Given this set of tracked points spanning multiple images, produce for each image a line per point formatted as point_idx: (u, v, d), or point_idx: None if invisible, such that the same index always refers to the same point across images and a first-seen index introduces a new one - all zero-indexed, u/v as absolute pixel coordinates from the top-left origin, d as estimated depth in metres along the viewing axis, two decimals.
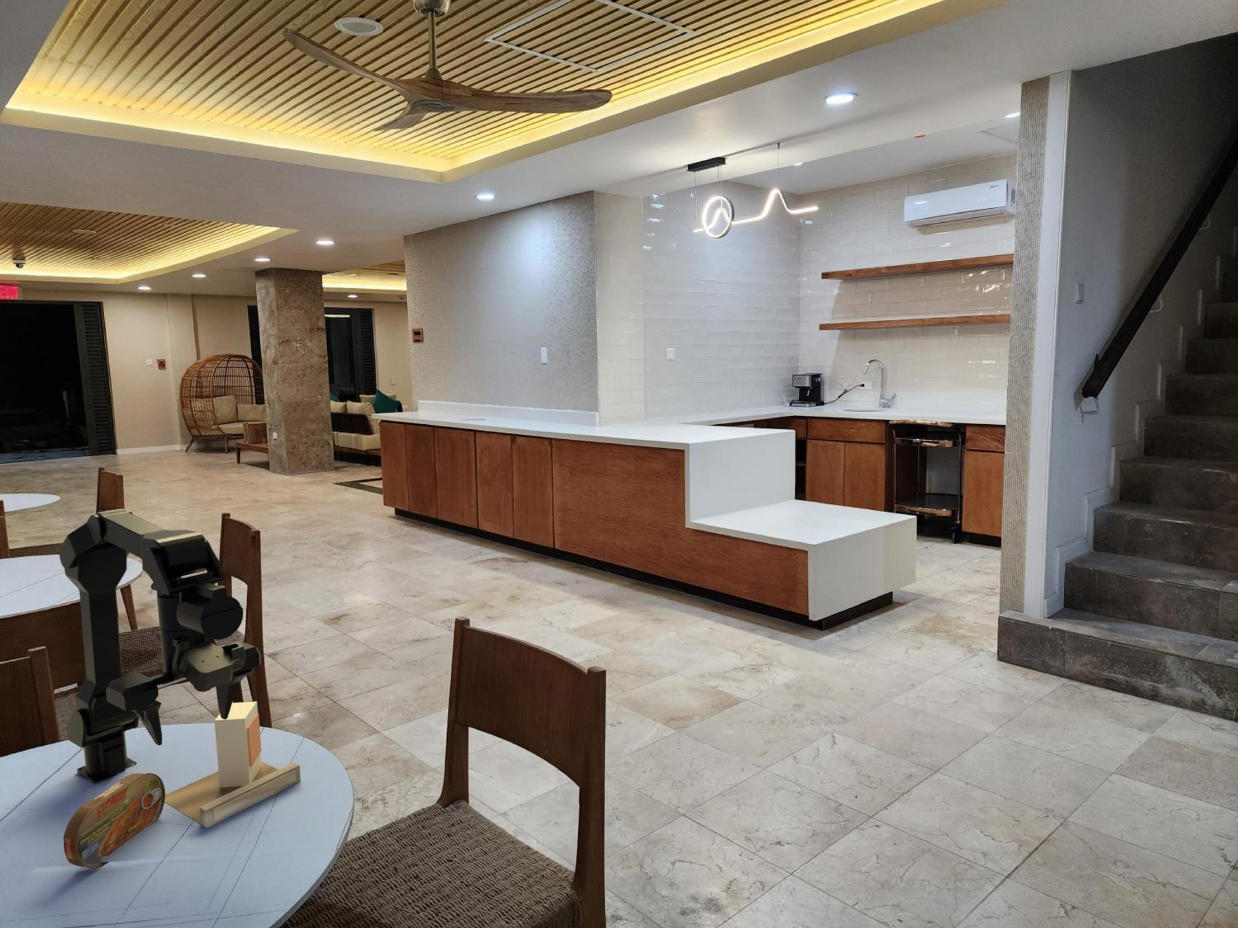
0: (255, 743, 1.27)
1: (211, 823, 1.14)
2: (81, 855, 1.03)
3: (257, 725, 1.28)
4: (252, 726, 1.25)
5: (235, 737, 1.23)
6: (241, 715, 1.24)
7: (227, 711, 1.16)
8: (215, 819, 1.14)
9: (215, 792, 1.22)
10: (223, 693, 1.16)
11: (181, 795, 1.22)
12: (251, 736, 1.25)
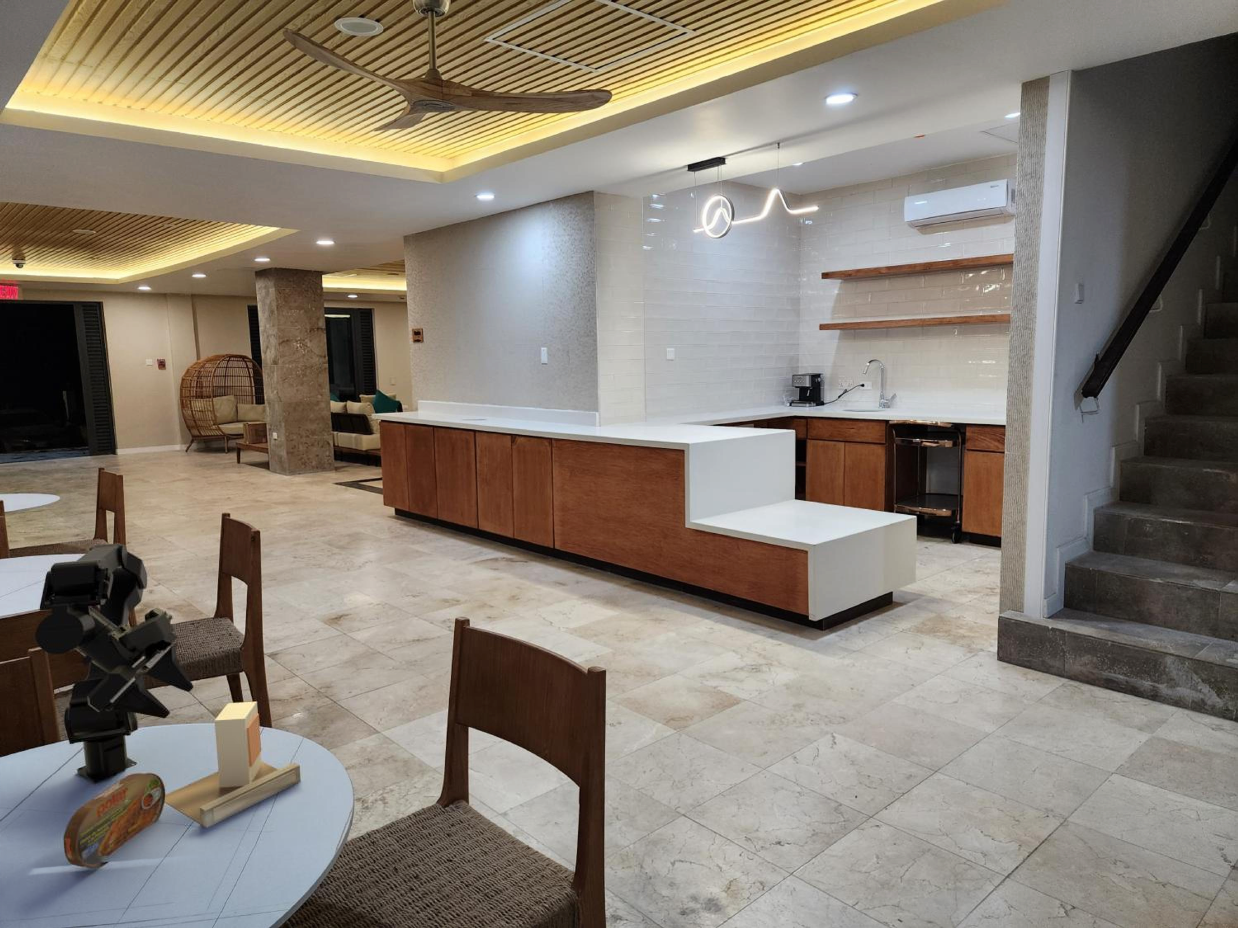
0: (255, 743, 1.27)
1: (211, 823, 1.14)
2: (81, 855, 1.03)
3: (257, 725, 1.28)
4: (252, 726, 1.25)
5: (235, 737, 1.23)
6: (241, 715, 1.24)
7: (189, 680, 1.28)
8: (215, 819, 1.14)
9: (215, 792, 1.22)
10: (173, 673, 1.28)
11: (181, 795, 1.22)
12: (251, 736, 1.25)
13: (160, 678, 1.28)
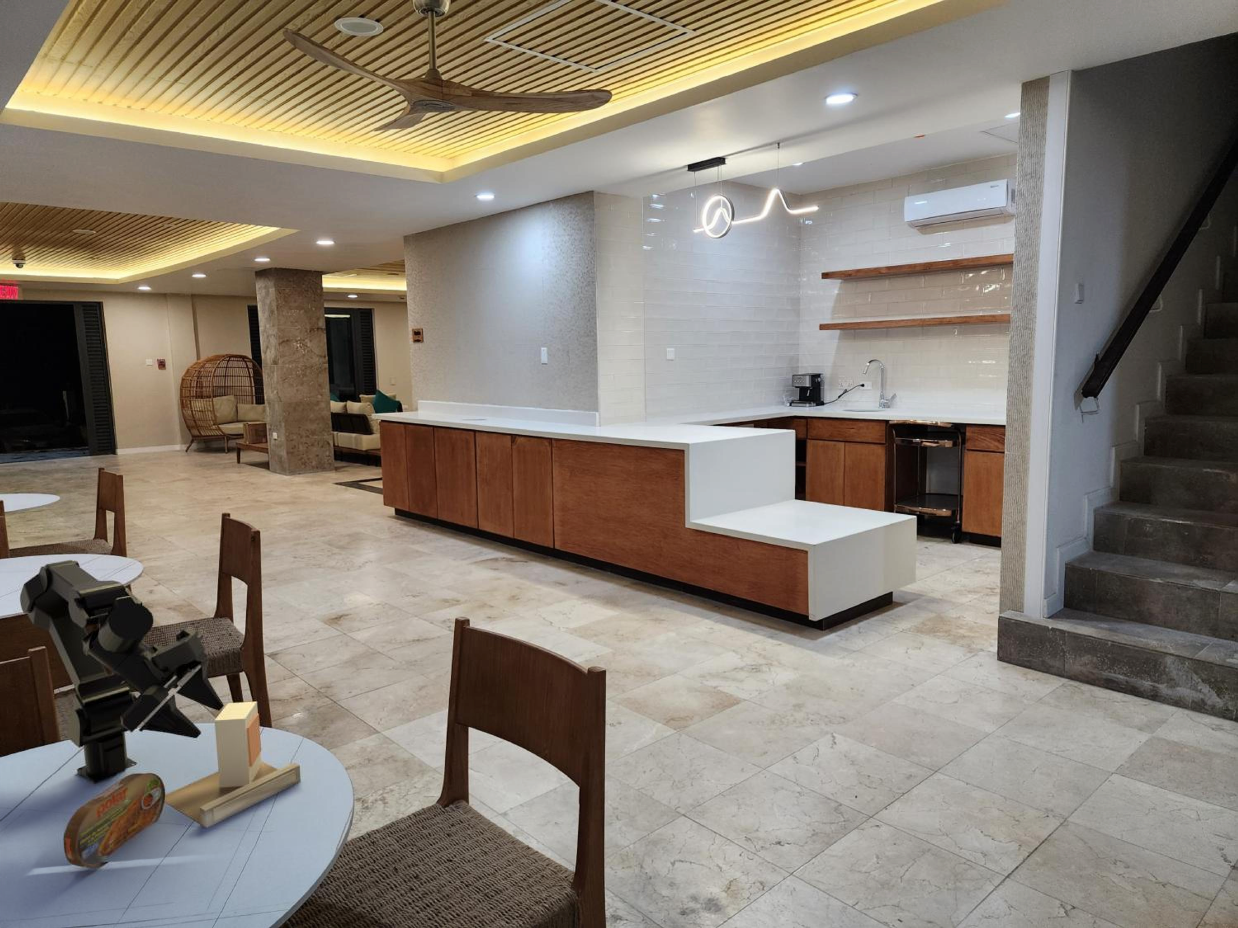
0: (255, 743, 1.27)
1: (211, 823, 1.14)
2: (81, 855, 1.03)
3: (257, 725, 1.28)
4: (252, 726, 1.25)
5: (235, 737, 1.23)
6: (241, 715, 1.24)
7: (219, 699, 1.29)
8: (215, 819, 1.14)
9: (215, 792, 1.22)
10: (203, 692, 1.29)
11: (181, 795, 1.22)
12: (251, 736, 1.25)
13: (191, 697, 1.29)
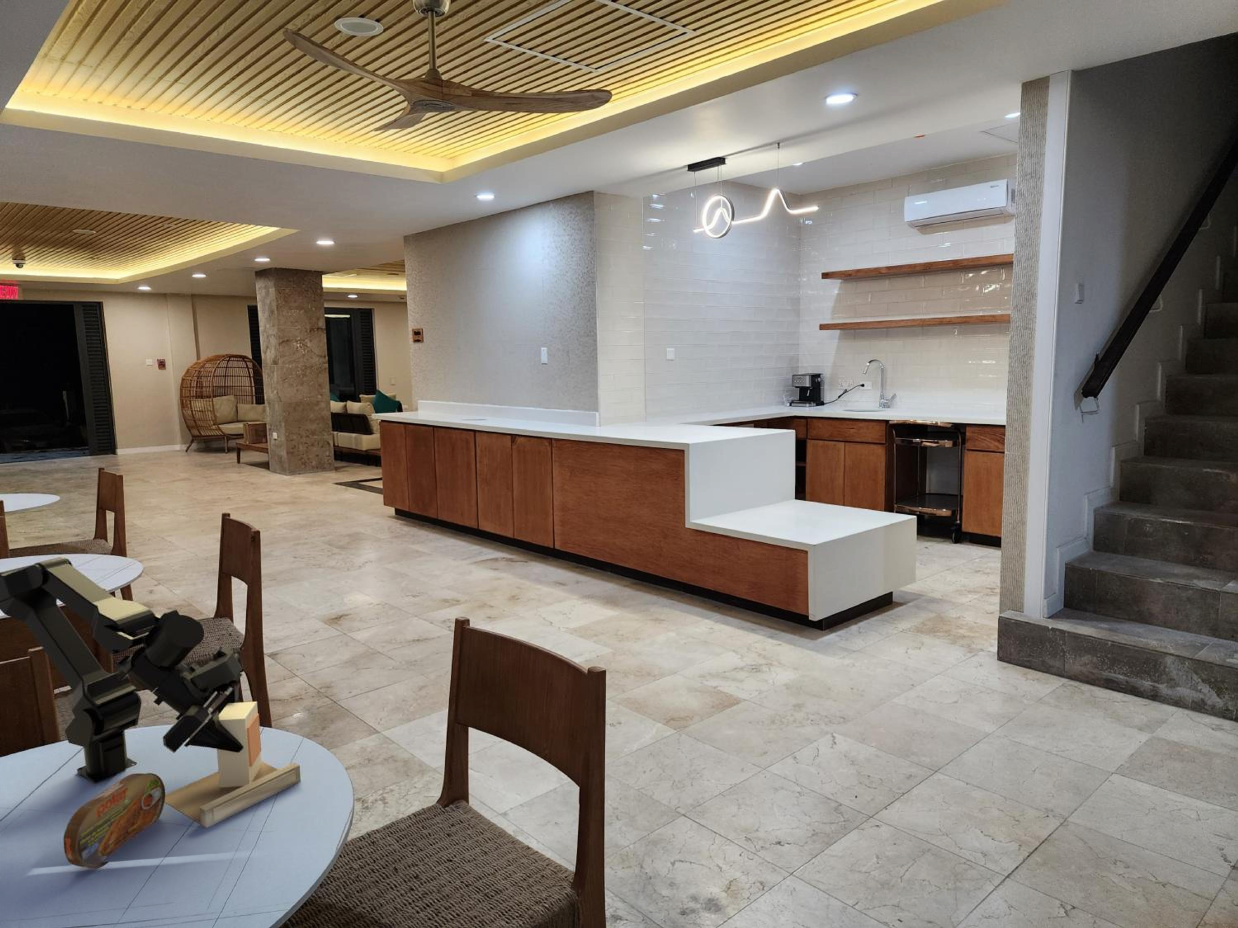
0: (255, 743, 1.27)
1: (211, 823, 1.14)
2: (81, 855, 1.03)
3: (257, 725, 1.28)
4: (252, 726, 1.25)
5: (235, 737, 1.23)
6: (241, 715, 1.24)
7: None
8: (215, 819, 1.14)
9: (215, 792, 1.22)
10: None
11: (181, 795, 1.22)
12: (251, 736, 1.25)
13: None
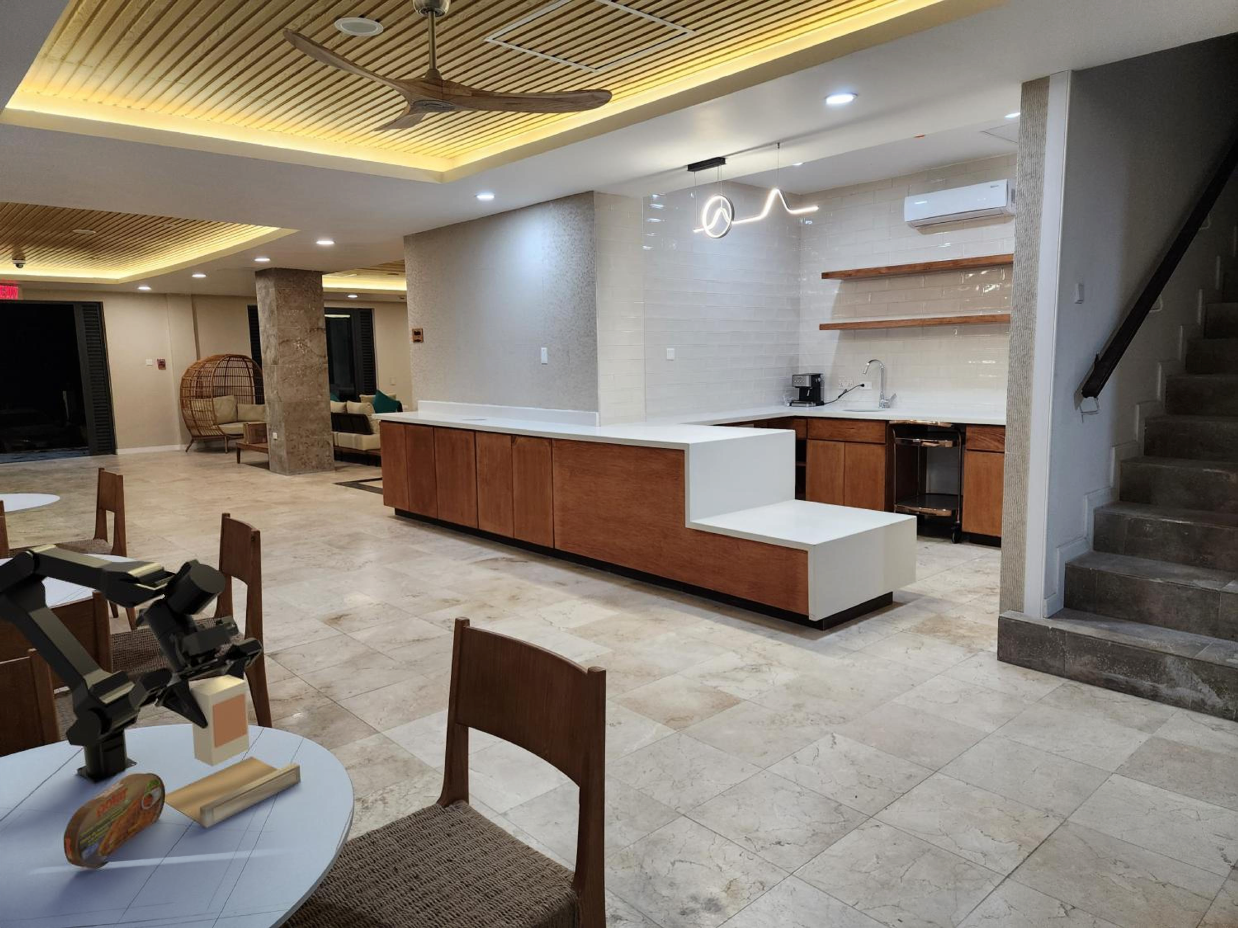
0: (231, 724, 1.19)
1: (211, 823, 1.14)
2: (81, 855, 1.03)
3: (239, 706, 1.20)
4: (224, 706, 1.18)
5: None
6: (211, 691, 1.17)
7: None
8: (215, 819, 1.14)
9: (215, 792, 1.22)
10: None
11: (181, 795, 1.22)
12: (219, 716, 1.17)
13: None
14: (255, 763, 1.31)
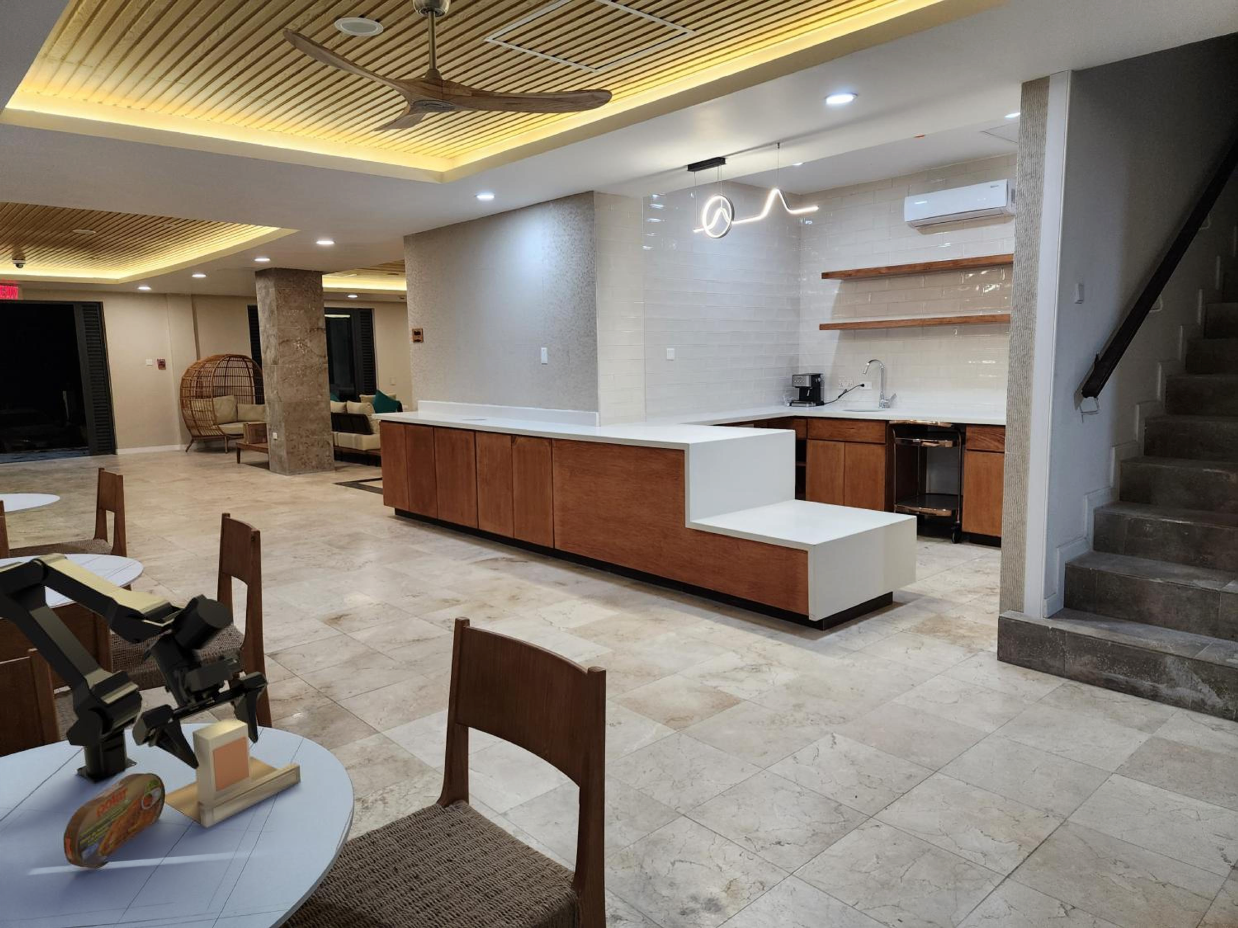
0: (233, 768, 1.19)
1: (211, 823, 1.14)
2: (81, 855, 1.03)
3: (240, 749, 1.20)
4: (225, 749, 1.18)
5: (204, 755, 1.17)
6: (212, 735, 1.17)
7: (255, 732, 1.23)
8: (215, 819, 1.14)
9: None
10: (246, 720, 1.24)
11: (181, 795, 1.22)
12: (219, 760, 1.17)
13: None
14: (255, 763, 1.31)
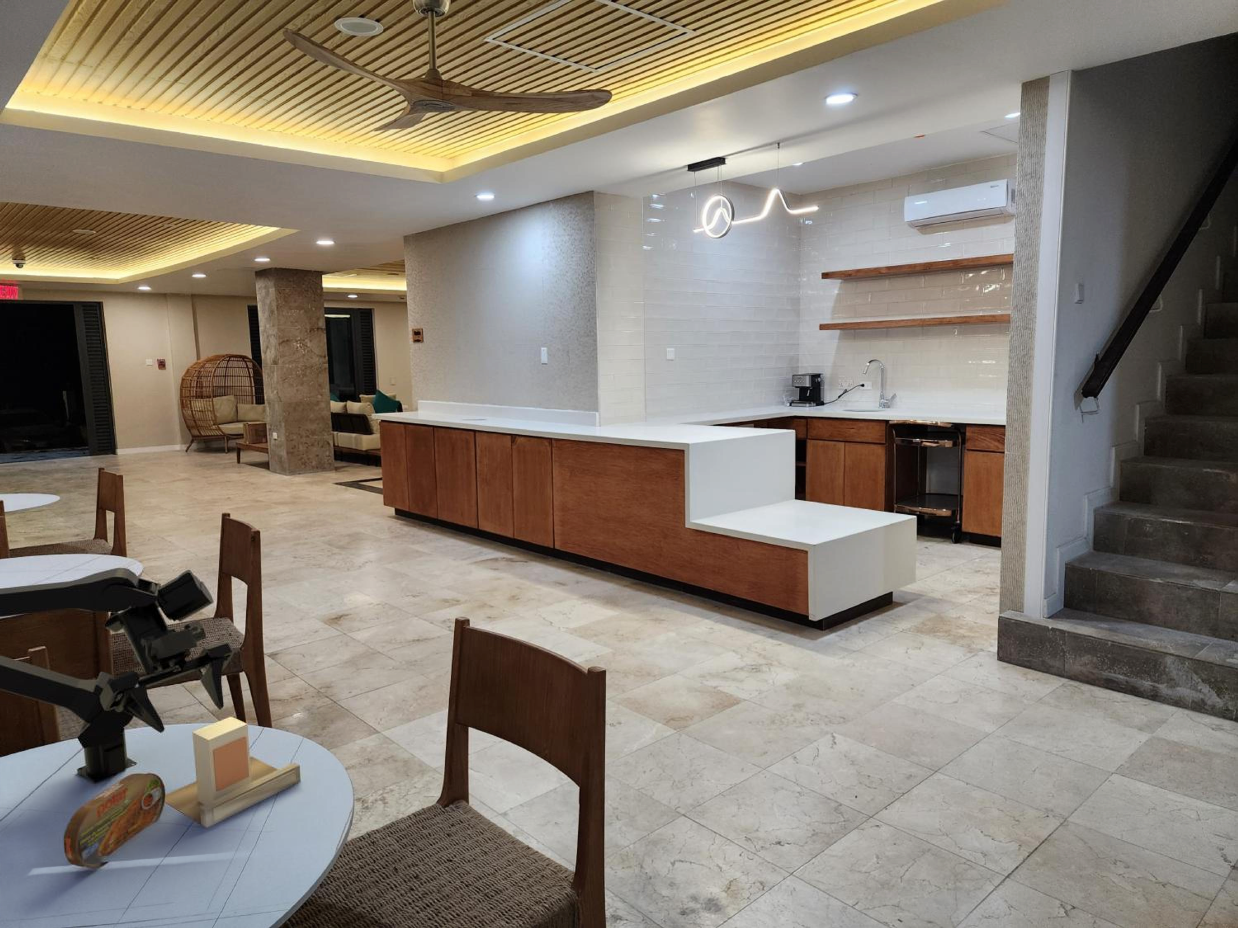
0: (233, 768, 1.19)
1: (211, 823, 1.14)
2: (81, 855, 1.03)
3: (240, 749, 1.20)
4: (225, 749, 1.18)
5: (204, 755, 1.17)
6: (212, 735, 1.17)
7: (220, 699, 1.28)
8: (215, 819, 1.14)
9: None
10: (212, 687, 1.29)
11: (181, 795, 1.22)
12: (219, 760, 1.17)
13: (206, 688, 1.31)
14: (255, 763, 1.31)
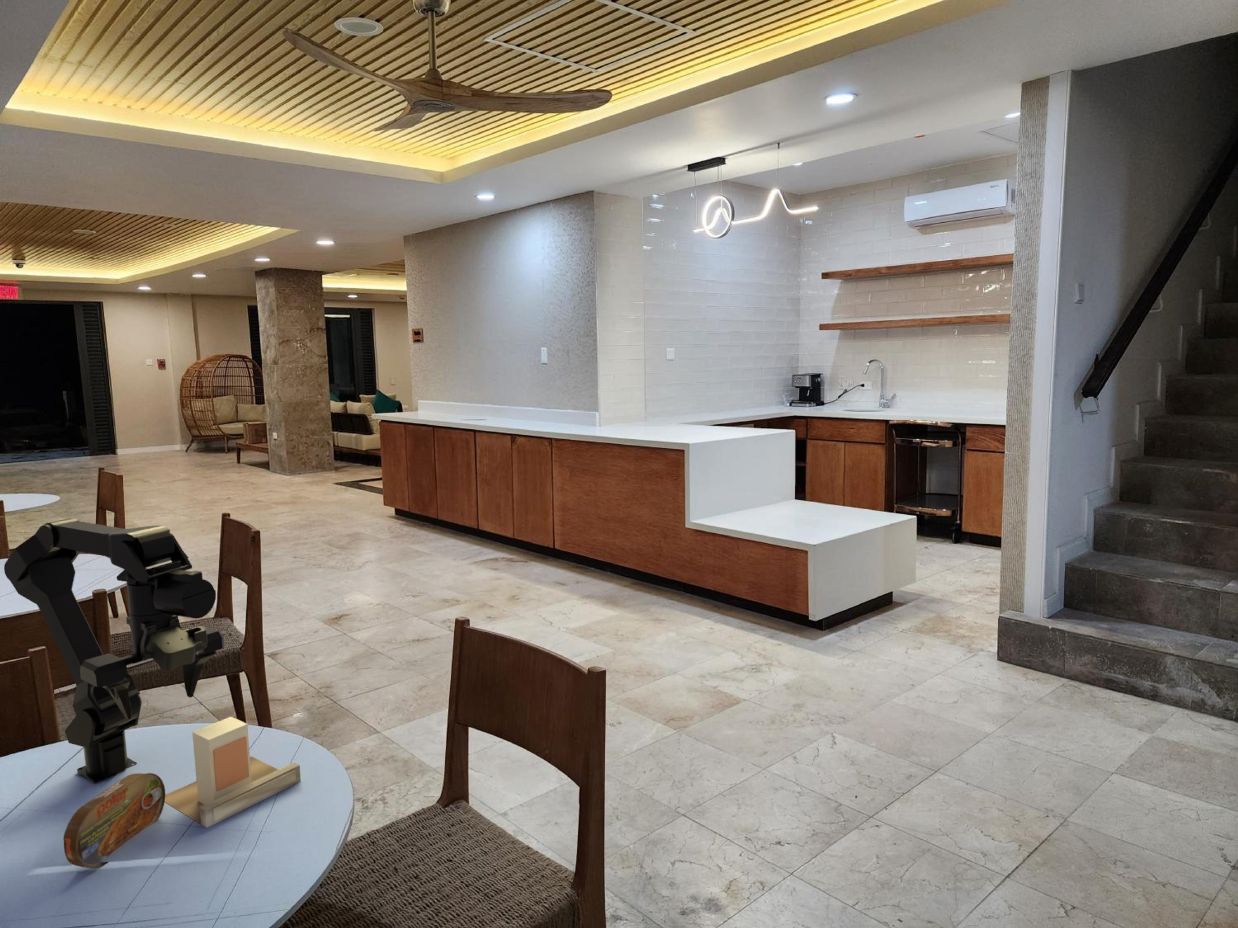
0: (233, 768, 1.19)
1: (211, 823, 1.14)
2: (81, 855, 1.03)
3: (240, 749, 1.20)
4: (225, 749, 1.18)
5: (204, 755, 1.17)
6: (212, 735, 1.17)
7: (192, 690, 1.27)
8: (215, 819, 1.14)
9: None
10: (189, 673, 1.27)
11: (181, 795, 1.22)
12: (219, 760, 1.17)
13: (183, 665, 1.28)
14: (255, 763, 1.31)
